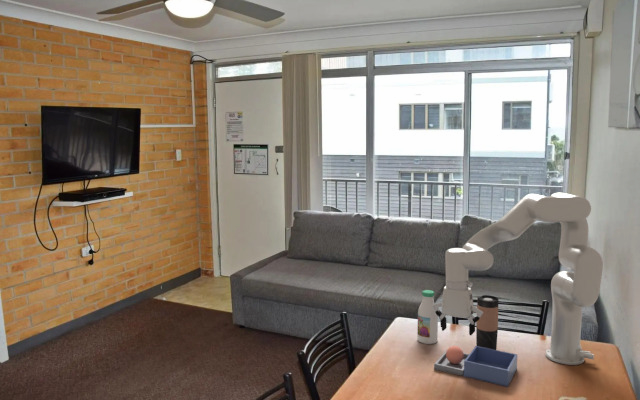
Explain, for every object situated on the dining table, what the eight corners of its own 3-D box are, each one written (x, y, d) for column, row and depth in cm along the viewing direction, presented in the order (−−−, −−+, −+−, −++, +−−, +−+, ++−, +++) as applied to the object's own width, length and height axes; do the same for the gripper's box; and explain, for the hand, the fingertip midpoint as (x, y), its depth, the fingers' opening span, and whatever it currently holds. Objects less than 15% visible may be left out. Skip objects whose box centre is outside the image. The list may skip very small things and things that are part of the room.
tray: (474, 360, 185) (474, 355, 185) (462, 376, 173) (463, 370, 173) (446, 354, 190) (447, 349, 190) (434, 369, 178) (434, 363, 178)
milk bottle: (430, 335, 208) (431, 287, 205) (441, 343, 200) (442, 293, 198) (413, 338, 205) (414, 289, 203) (423, 345, 198) (424, 295, 195)
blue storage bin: (516, 369, 177) (517, 354, 177) (507, 387, 165) (508, 370, 165) (475, 360, 185) (475, 345, 184) (463, 376, 173) (464, 360, 172)
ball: (465, 361, 182) (465, 345, 182) (460, 368, 177) (460, 351, 177) (449, 357, 186) (449, 342, 185) (443, 364, 181) (443, 348, 180)
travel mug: (498, 354, 189) (500, 302, 187) (476, 353, 191) (478, 301, 188) (495, 346, 197) (497, 295, 194) (474, 344, 198) (476, 294, 196)
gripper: (485, 284, 176) (485, 331, 179) (436, 278, 185) (437, 324, 188) (479, 290, 170) (479, 339, 172) (429, 284, 179) (430, 331, 181)
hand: (457, 331), depth 180 cm, fingers open, 9 cm apart
